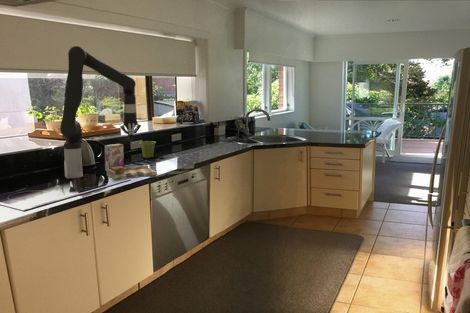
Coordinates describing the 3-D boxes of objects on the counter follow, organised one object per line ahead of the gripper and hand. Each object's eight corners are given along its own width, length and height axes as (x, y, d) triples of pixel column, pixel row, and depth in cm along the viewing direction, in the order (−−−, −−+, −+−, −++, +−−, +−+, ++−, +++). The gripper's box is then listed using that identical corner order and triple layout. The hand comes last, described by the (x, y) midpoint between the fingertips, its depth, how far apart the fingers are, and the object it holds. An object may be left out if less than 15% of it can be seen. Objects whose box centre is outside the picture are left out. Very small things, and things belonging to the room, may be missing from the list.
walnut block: (114, 174, 236) (114, 168, 235) (111, 172, 240) (110, 166, 240) (124, 173, 239) (124, 167, 238) (120, 171, 244) (120, 165, 243)
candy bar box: (109, 172, 250) (108, 146, 247) (105, 171, 254) (103, 145, 250) (124, 169, 259) (123, 144, 256) (120, 168, 262) (119, 143, 259)
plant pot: (139, 156, 304) (138, 141, 302) (155, 155, 307) (154, 140, 305) (140, 159, 293) (140, 143, 291) (157, 158, 296) (156, 143, 294)
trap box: (114, 180, 230) (114, 172, 229) (106, 175, 241) (106, 168, 241) (156, 174, 245) (156, 167, 244) (147, 170, 256) (147, 163, 255)
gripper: (121, 112, 232) (122, 142, 235) (142, 111, 239) (143, 140, 242) (116, 111, 238) (118, 140, 241) (138, 111, 245) (139, 139, 248)
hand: (130, 140), depth 242 cm, fingers closed
